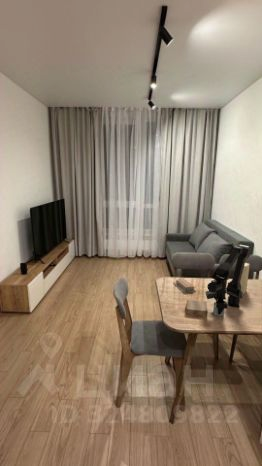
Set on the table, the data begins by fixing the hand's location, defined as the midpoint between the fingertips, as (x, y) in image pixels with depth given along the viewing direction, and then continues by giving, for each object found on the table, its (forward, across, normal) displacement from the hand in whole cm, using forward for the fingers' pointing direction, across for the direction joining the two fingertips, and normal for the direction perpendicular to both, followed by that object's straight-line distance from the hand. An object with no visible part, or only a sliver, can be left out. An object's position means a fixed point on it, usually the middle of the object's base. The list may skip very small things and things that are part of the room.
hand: (218, 311), depth 152 cm
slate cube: (+1, 0, 0) cm, 1 cm away
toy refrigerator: (+1, -36, +19) cm, 41 cm away
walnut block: (+2, 0, -13) cm, 13 cm away
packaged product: (+2, -33, -20) cm, 39 cm away
